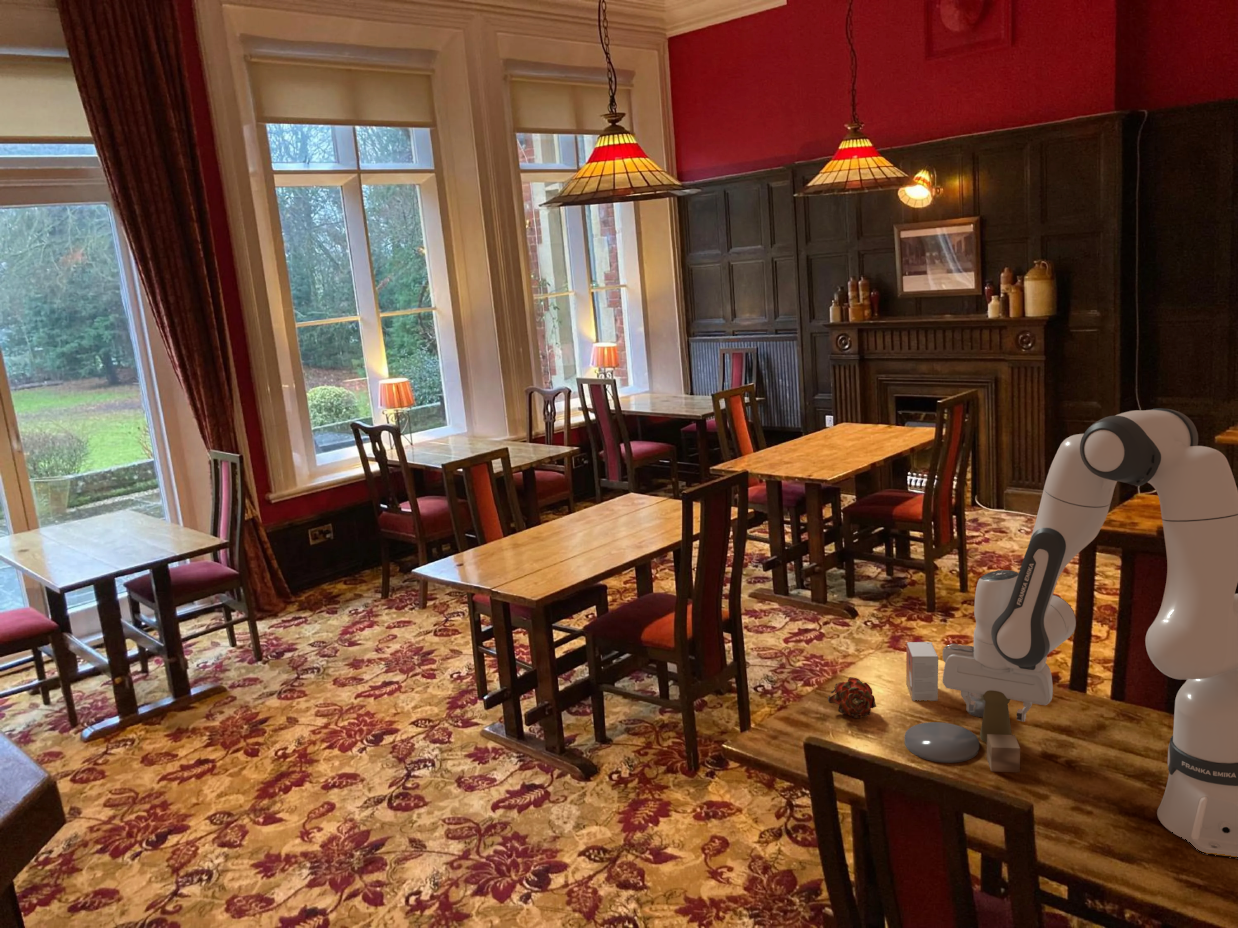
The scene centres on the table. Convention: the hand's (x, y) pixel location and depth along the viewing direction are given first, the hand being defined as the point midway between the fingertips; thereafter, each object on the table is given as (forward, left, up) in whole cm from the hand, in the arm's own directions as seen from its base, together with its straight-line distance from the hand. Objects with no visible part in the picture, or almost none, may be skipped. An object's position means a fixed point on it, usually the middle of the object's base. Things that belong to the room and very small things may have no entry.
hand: (995, 714), depth 192 cm
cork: (0, 0, -5) cm, 5 cm away
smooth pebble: (+9, +7, -5) cm, 12 cm away
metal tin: (+5, -10, -5) cm, 12 cm away
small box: (+18, -14, -5) cm, 23 cm away
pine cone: (+29, +1, -5) cm, 29 cm away
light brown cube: (-3, +10, -5) cm, 12 cm away
